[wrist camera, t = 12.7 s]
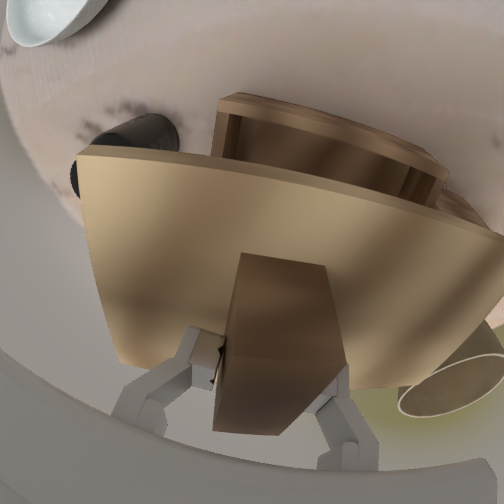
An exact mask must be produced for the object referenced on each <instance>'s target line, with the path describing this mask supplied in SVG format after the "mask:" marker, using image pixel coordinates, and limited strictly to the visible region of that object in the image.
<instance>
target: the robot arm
mask: <svg viewBox="0 0 504 504" xmlns="http://www.w3.org/2000/svg"><path fill="white" fill-rule="evenodd" d="M225 341H226V336H225V335H222V334H218V333H215V332H211V331H208V330H205V329H202V328H199V327H195V326H192V325H189V326H188V327H187V328H186V331H185V333H184V335H183V338H182V340H181V342H180V345H179V347H178V350H177V352H176V354H175V357H174V359H173V358H169V359H167V360H166V361H164V362H163V363H161V364H159V365H158V366H156V367H155V368H153V369H152V370H150V371H148V372H147V373H145V374H144V375H142V376H141V377H139V378H137V379H136V380H134V381H132V382H131V383H129V384H128V385H126V386H124V388H123V390H122V392H121V394H120V396H119V398H118V401H117V403H116V405H115V407H114V409H113V411H112V414H111V416H110V415H108V414H106V413H103V412H102V411H100V410H98V409H96V408H94V407H91V406H90V405H88V404H86V403H84V402H82V401H80V400H78V399H76V398H74V397H73V396H71V395H69V394H67V393H66V392H64V391H62V390H60V389H59V388H57V387H55V386H54V385H52V384H50V383H49V382H47V381H46V380H44V379H43V378H41V377H39V376H38V375H36V374H35V373H33V372H32V371H30V370H29V369H27V368H26V367H25V366H23V365H22V364H20V363H19V362H17V361H16V360H15V359H13V358H12V357H11V356H9V355H8V354H7V353H5V352H4V351H3V350H2V349H0V504H497V478H496V475H495V473H494V471H493V469H492V468H491V466H490V465H489V463H488V462H487V461H486V459H484V458H477V459H472V460H468V461H463V462H458V463H452V464H447V465H441V466H434V467H426V468H418V469H408V470H394V471H378V458H379V442H378V440H377V439H376V437H375V435H374V434H373V432H372V430H371V429H370V427H369V425H368V424H367V422H366V421H365V419H364V417H363V416H362V414H361V412H360V411H359V409H358V407H357V406H356V404H355V403H354V401H353V400H352V399H350V398H349V397H350V394H349V392H350V389H349V364H348V363H347V365H346V366H345V367H344V368H343V369H342V370H341V372H340V373H339V374H338V375H337V376H336V377H335V378H334V380H333V381H332V382H331V383H330V384H329V385H328V386H327V387H326V388H325V389H324V391H323V392H322V393H321V394H320V395H319V396H318V397H317V398H316V399H315V400H314V401H313V402H312V403H311V404H310V405H309V406H308V407H307V408H306V409H305V410H304V411H303V412H308V413H314V414H315V416H316V418H317V420H318V423H319V425H320V427H321V430H322V432H323V434H324V436H325V438H326V441H327V443H328V445H329V448H330V451H328V452H326V453H324V454H322V455H321V456H319V457H318V462H317V470H313V469H302V468H293V467H285V466H277V465H271V464H265V463H259V462H254V461H249V460H244V459H239V458H234V457H229V456H225V455H222V454H217V453H214V452H210V451H206V450H202V449H199V448H195V447H192V446H188V445H185V444H182V443H179V442H176V441H173V440H170V439H167V438H164V434H165V431H166V428H167V425H168V424H167V420H166V416H165V412H164V408H165V407H166V406H167V405H169V404H170V403H171V402H172V401H174V400H175V399H176V398H177V397H179V396H180V395H181V394H182V393H183V392H185V391H186V390H187V389H188V388H190V387H191V386H195V387H199V388H202V389H206V390H210V391H212V388H213V385H214V382H215V379H216V375H217V369H218V368H219V366H220V362H221V359H222V355H223V351H224V345H225Z"/></svg>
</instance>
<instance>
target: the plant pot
mask: <svg viewBox="0 0 504 504" xmlns="http://www.w3.org/2000/svg"><path fill="white" fill-rule="evenodd" d="M503 379H504V349H503V347H502V346H501V344H500V342H499V340H498V339H497V337H496V335H495V334H494V332H493V331H492V329H491V328H490V326H489V325H488V323H487V322H486V321H485V319H484V320H483V321H482V323H481V324H480V325H479V326H478V327H477V328H476V329H475V330H474V332H473V333H472V334H471V335H470V336H469V337H468V338H467V339H466V340H465V341H464V342H463V343H462V344H461V345H460V346H459V347H458V348H457V349H456V350H455V351H454V352H453V353H452V354H451V355H450V356H449V357H448V358H447V359H446V360H445V361H444V362H443V363H442V364H441V365H440V366H439V367H438V368H437V369H436V370H435V371H433V372H432V373H431V374H430V375H429V376H428V377H427V378H426V379H424V380H423V381H422V382H421V383H420V384H419V385H412V386H401V387H399V390H398V409H399V411H400V412H401V413H403V414H405V415H407V416H412V417H420V418H423V417H434V416H439V415H444V414H447V413H451V412H454V411H457V410H459V409H462V408H464V407H466V406H468V405H470V404H472V403H474V402H476V401H477V400H479V399H481V398H482V397H484V396H485V395H487V394H488V393H489V392H491V391H492V390H493V389H494V388H495V387H496V386H497V385H498V384H499V383H500V382H501V381H502V380H503Z"/></svg>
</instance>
